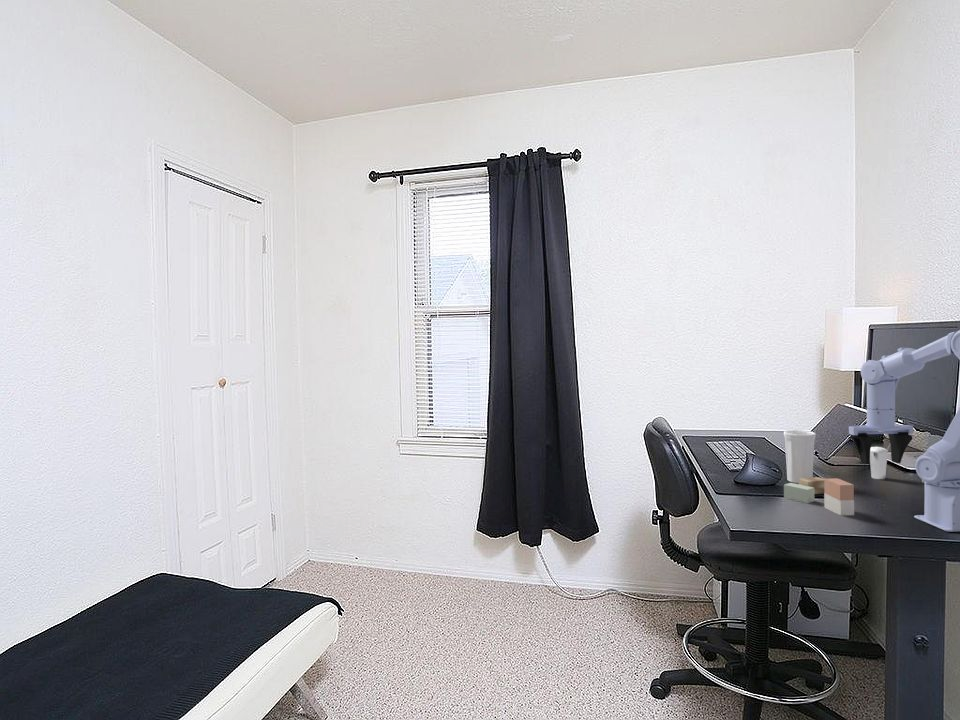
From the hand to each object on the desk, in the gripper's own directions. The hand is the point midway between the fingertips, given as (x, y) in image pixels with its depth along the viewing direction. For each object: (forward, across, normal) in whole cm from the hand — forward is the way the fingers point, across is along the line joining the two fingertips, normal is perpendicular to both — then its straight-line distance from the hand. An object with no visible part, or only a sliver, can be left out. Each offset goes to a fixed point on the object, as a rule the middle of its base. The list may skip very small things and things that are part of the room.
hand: (880, 462), depth 139 cm
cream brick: (+10, +14, +6) cm, 18 cm away
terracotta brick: (+6, +14, +6) cm, 16 cm away
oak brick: (+10, +11, -10) cm, 18 cm away
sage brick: (+10, +18, -4) cm, 21 cm away
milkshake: (+10, -15, -22) cm, 28 cm away
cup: (+10, +9, -20) cm, 24 cm away
